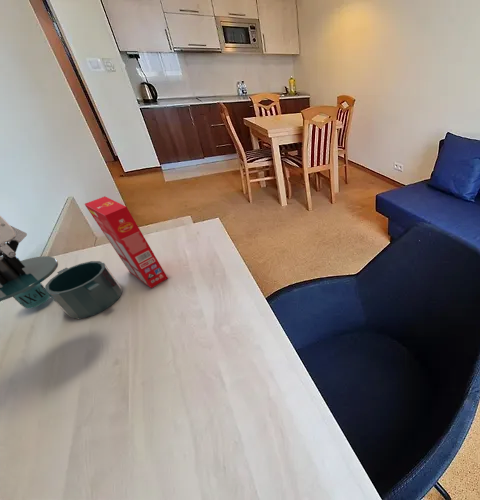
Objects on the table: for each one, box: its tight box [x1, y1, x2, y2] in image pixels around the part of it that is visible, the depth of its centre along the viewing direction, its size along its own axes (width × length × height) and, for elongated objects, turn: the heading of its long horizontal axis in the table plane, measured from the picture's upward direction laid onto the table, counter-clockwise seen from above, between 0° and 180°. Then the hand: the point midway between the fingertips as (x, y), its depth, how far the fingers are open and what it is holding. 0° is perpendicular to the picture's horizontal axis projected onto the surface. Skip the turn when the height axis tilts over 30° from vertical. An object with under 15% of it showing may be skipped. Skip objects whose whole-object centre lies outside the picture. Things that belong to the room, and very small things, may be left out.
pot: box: [44, 260, 123, 320], centre depth 86 cm, size 14×19×10 cm
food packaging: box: [84, 195, 169, 289], centre depth 89 cm, size 15×5×25 cm, turn 54°
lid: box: [0, 255, 59, 302], centre depth 61 cm, size 15×15×6 cm
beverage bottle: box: [0, 251, 51, 309], centre depth 84 cm, size 6×7×20 cm
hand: (11, 276), depth 61 cm, fingers closed on lid, 2 cm apart
